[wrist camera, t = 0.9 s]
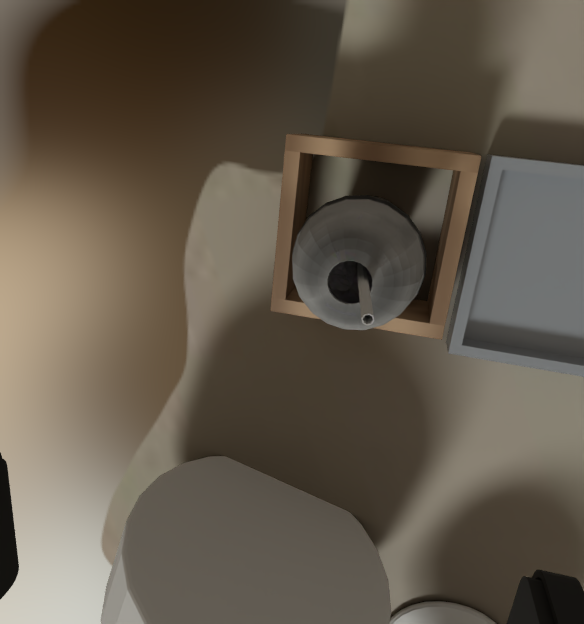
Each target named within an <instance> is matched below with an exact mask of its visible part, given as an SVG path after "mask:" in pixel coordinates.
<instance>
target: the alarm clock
mask: <svg viewBox="0 0 584 624" xmlns="http://www.w3.org/2000/svg"><path fill="white" fill-rule="evenodd" d="M390 617H391V603H390V593H389V583H388V578H387V575H386V573H385V570H384V567H383V564H382V561H381V559H380V556H379V553H378V551H377V549H376V547H375V546H374V544H373V542H372V541H371V539H370V538H369V536H368V534H367V533H366V531H365V529H364V528H363V526H362V525H361V524H360V522H359V521H358V520H357V519H356V518H355V517H354V516H353V515H352V514H351V513H350V512H348V511H346V510H344V509H342V508H339V507H337V506H335V505H333V504H330V503H328V502H326V501H324V500H322V499H319V498H317V497H315V496H313V495H311V494H308V493H306V492H304V491H302V490H299V489H297V488H295V487H293V486H291V485H288V484H286V483H284V482H282V481H279V480H277V479H275V478H273V477H271V476H268V475H266V474H264V473H262V472H259V471H257V470H255V469H253V468H251V467H248V466H246V465H244V464H242V463H239V462H237V461H235V460H233V459H231V458H228V457H226V456H209V457H205V458H201V459H197V460H193V461H189V462H185V463H183V464H181V465H179V466H177V467H175V468H173V469H172V470H170V471H168V472H166V473H164V474H162V475H160V476H159V477H158V478H157V479H156V480H155V481H154V482H153V483H152V484H151V485H150V486H149V487H148V488H147V489H146V490H145V491H144V492H143V493H142V494H141V495H140V496H139V498H138V500H137V502H136V504H135V506H134V508H133V510H132V511H131V513H130V515H129V517H128V519H127V521H126V524H125V527H124V531H123V534H122V537H121V540H120V544H119V547H118V550H117V553H116V557H115V560H114V563H113V566H112V570H111V573H110V576H109V579H108V583H107V586H106V592H105V598H104V604H103V610H102V616H101V624H389V622H390Z"/></svg>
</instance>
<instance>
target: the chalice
mask: <svg viewBox="0 0 584 624" xmlns="http://www.w3.org/2000/svg"><path fill="white" fill-rule="evenodd" d="M389 624H497V623H495V622H494V621H493V620H491V619H490V618H489V617H487V616H486V615H485V614H483V613H481V612H479V611H476V610H474V609H472V608H470V607H467V606H463V605H460V604H457V603H450V602H442V601H434V602H423V603H418V604H414V605H411V606H408V607H406V608H404V609H402V610H400V611H399V612H397V613H396V614H395V615H394V616H392V617H391V618H390V622H389Z"/></svg>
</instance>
